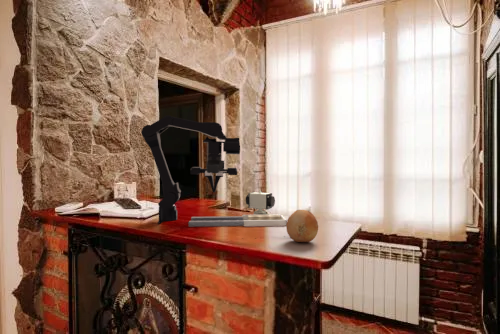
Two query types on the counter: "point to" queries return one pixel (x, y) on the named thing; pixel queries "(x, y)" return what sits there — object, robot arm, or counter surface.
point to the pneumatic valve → (260, 201)
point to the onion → (302, 226)
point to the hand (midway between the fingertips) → (213, 192)
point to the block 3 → (274, 217)
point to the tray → (265, 221)
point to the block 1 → (253, 217)
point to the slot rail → (216, 221)
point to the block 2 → (264, 217)
